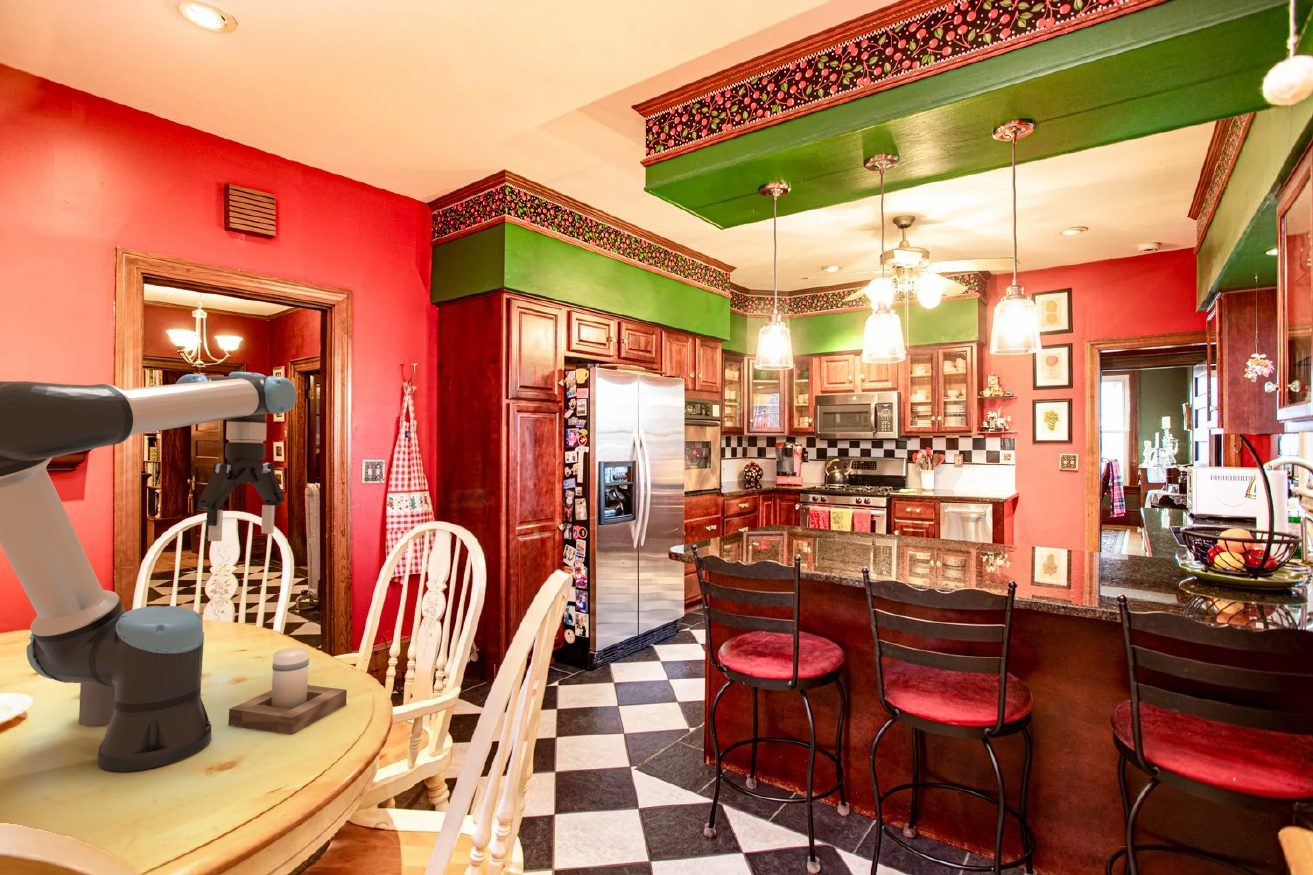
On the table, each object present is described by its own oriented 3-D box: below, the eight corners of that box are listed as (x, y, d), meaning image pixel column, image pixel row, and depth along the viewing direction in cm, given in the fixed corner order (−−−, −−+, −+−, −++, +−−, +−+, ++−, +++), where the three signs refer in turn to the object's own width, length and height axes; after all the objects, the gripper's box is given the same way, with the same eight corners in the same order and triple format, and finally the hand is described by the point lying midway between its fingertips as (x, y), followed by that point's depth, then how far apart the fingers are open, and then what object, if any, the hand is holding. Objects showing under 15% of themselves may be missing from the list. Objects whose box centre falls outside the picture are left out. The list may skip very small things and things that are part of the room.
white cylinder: (289, 723, 119) (292, 659, 119) (262, 719, 120) (265, 655, 121) (314, 710, 125) (316, 649, 125) (288, 706, 126) (290, 646, 127)
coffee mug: (76, 731, 114) (79, 675, 114) (81, 713, 121) (83, 660, 122) (170, 713, 122) (172, 661, 122) (169, 697, 130) (170, 648, 130)
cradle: (291, 734, 114) (292, 717, 114) (228, 725, 118) (229, 708, 118) (346, 704, 128) (346, 689, 128) (288, 696, 131) (288, 682, 131)
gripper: (276, 442, 154) (273, 529, 154) (179, 440, 130) (174, 543, 130) (303, 443, 153) (299, 531, 152) (209, 440, 128) (204, 545, 128)
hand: (242, 537), depth 141 cm, fingers open, 13 cm apart
